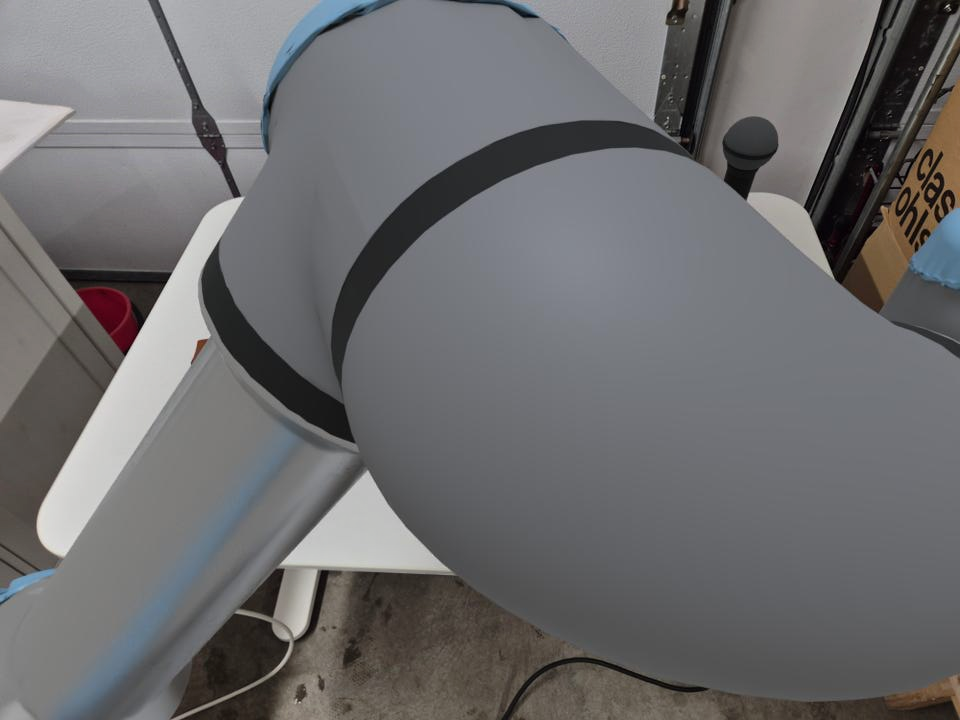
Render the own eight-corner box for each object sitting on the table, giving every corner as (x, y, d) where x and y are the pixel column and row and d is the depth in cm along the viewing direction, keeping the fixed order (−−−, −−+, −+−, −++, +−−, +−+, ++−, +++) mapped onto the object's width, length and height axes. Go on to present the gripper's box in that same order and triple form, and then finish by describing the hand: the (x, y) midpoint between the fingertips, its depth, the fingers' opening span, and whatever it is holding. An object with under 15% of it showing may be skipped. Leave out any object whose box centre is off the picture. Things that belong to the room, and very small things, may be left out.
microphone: (685, 238, 92) (719, 111, 76) (725, 229, 92) (766, 102, 77) (707, 266, 87) (747, 138, 72) (749, 257, 88) (797, 128, 73)
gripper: (696, 441, 51) (503, 323, 61) (821, 282, 62) (642, 204, 72) (719, 386, 45) (502, 265, 55) (852, 222, 56) (653, 146, 66)
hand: (581, 230), depth 63 cm, fingers open, 13 cm apart
